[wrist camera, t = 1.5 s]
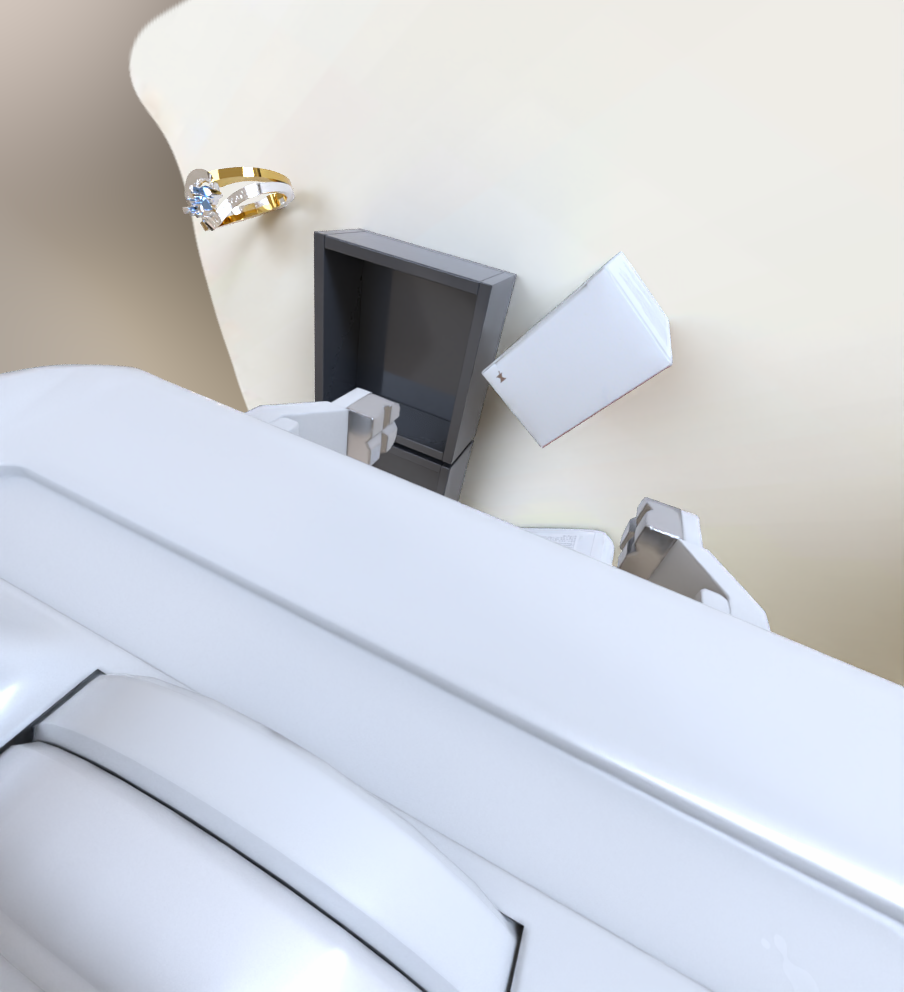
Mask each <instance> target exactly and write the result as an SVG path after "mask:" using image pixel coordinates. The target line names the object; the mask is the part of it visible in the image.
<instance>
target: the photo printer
mask: <svg viewBox="0 0 904 992" xmlns="http://www.w3.org/2000/svg"><path fill="white" fill-rule="evenodd" d="M522 529H525V530H527V531H529V532H532V533H534V534H537V535H539V536H542V537H544V538H546V539H549V540H551V541H554V542H556V543H558V544H561V545H563V546H566V547H568V548H570V549H573V550H575V551H578V552H580V553H583V554H585V555H587V556H590V557H592V558H595V559H597V560H599V561H602V562H604V563H607V564H609V565H611V566H612V561H613V555H614V545H613V542H612V540H611V539H610V537H609V536H608V535H606V533H605V532H602V531H597V530H587V529H560V528H522Z"/></svg>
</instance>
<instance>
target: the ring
mask: <svg viewBox="0 0 904 992" xmlns="http://www.w3.org/2000/svg"><path fill="white" fill-rule="evenodd" d="M242 181H261V182H265V183H258V184H253V185H250V186H247V187H244V188H242V189H240V190H238V191H236V192H235V193H233V194H232V195H231V196H229V197H228V198H227V199H226V200H225V201H224V202H223V203H222V204H221V206H220V207H219V208H218V209H217V208H216V207H217V204H218V201H219V199H220V198H221V197H222V196H223V195H222V193H221V192H220V190H219V187H223V186H225V185H228V184H232V183H236V182H242ZM204 182H208V183H209V184H210V187H209V186H202V187H200V186H201V185H202V184H203V183H204ZM266 193H276V194H271V195H268V196H267V198H266V199H264V200H261V201H258V202H255V203H252V204H248V205H245V206H240V207H236V206H237V205H239V204H240V203H241V202H243V201H245V200H246V199H248V198H251V197H253V196H257V195H260V194H266ZM184 195H185V198H186V201H187V203H188V205H189V207H184V208H183V211H184V213H185V214H187V213H189V215H190V216H196V217H197V218H202V222H201V225H202V227H203V228H204V230H205V231H209V230H211V231H213V230H215V229H216V228H220V227H223V226H227V225H230V224H234V223H237V222H240V221H244V220H247V219H250V218H253V217H256V216H260V215H262V214H265V213H268V212H271V211H274V210H276V209H277V210H279V209H282V208H285V206H286V205H287V204H289V203H290V202H292V201H293V200H294V198H295V195H294V192H293V188H292V185H291V182H290V180H289V179H288V178H287V177H286V176H284V175H282V174H280V173H277V172H274V171H271V170H267V169H261V168H252V167H234V168H225V169H219V170H214V171H210V172H208V171H206V170H203V169H195V170H193V171H192V172H191V173H190V174H189V175H188V177H187V180H186V184H185V194H184ZM235 207H236V208H235Z"/></svg>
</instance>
